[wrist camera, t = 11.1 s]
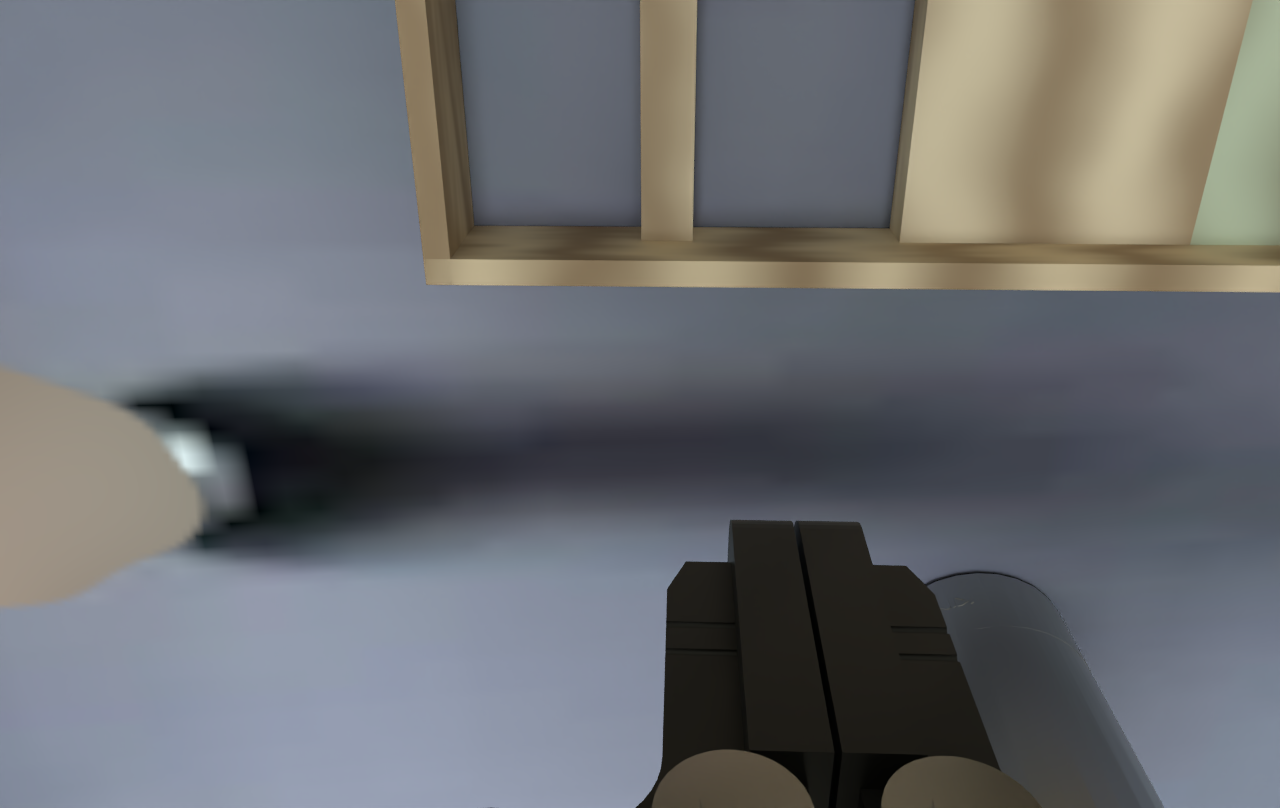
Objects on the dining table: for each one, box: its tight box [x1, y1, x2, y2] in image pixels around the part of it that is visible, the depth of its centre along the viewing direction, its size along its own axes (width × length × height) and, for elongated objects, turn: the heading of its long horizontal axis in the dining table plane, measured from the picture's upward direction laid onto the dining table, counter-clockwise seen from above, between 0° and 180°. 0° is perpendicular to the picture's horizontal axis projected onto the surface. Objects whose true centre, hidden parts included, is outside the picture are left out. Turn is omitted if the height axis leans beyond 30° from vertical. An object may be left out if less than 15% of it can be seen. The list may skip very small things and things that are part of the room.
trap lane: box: [395, 0, 1280, 292], centre depth 34 cm, size 40×16×4 cm, turn 90°
